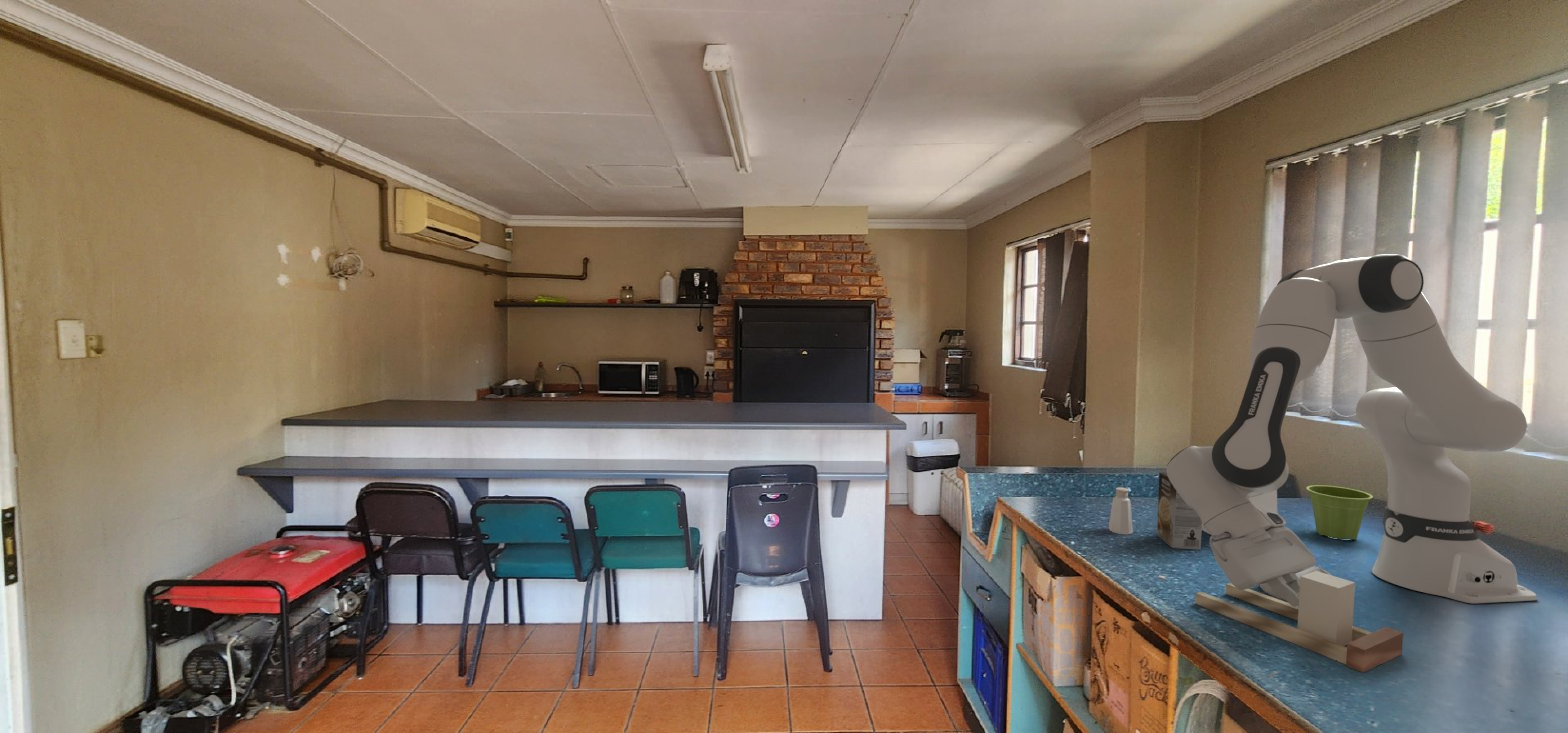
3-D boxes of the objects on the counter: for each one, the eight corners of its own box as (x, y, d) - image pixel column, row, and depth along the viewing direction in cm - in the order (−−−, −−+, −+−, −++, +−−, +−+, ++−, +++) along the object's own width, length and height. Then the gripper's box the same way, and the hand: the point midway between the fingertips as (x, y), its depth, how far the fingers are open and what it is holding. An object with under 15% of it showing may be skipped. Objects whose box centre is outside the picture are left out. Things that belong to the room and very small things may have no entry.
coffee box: (1155, 535, 145) (1157, 471, 144) (1184, 536, 143) (1186, 472, 142) (1172, 548, 136) (1174, 480, 135) (1202, 550, 134) (1205, 482, 133)
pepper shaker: (1133, 530, 148) (1134, 487, 148) (1132, 536, 144) (1134, 492, 143) (1109, 526, 151) (1110, 484, 151) (1107, 532, 147) (1109, 489, 146)
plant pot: (1292, 527, 150) (1294, 484, 149) (1343, 529, 148) (1346, 486, 148) (1328, 544, 138) (1330, 497, 138) (1384, 546, 137) (1387, 499, 136)
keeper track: (1193, 604, 108) (1194, 585, 108) (1231, 592, 113) (1232, 574, 113) (1363, 673, 86) (1364, 650, 86) (1401, 654, 91) (1403, 632, 91)
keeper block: (1297, 634, 97) (1300, 576, 96) (1313, 628, 99) (1316, 571, 98) (1335, 649, 92) (1339, 588, 91) (1351, 642, 94) (1355, 582, 93)
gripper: (1219, 529, 100) (1284, 609, 91) (1285, 513, 108) (1350, 585, 100) (1190, 545, 104) (1250, 623, 96) (1256, 529, 112) (1317, 599, 104)
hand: (1302, 604), depth 98 cm, fingers closed, pressing on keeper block
